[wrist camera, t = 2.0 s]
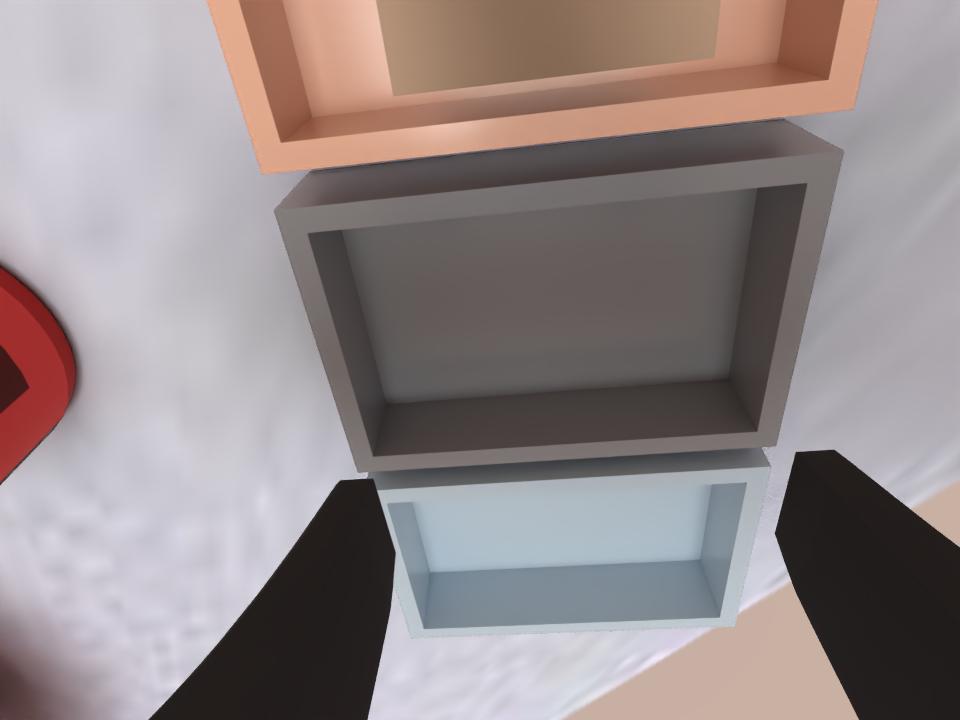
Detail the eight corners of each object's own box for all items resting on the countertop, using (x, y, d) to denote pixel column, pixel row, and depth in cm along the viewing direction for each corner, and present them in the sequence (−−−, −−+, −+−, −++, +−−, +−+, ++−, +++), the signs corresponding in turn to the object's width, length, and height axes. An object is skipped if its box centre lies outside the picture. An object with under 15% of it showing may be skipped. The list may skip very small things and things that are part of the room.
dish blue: (736, 402, 19) (771, 466, 17) (710, 558, 24) (734, 626, 21) (380, 427, 20) (364, 491, 18) (419, 572, 25) (411, 638, 22)
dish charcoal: (784, 119, 14) (843, 150, 12) (739, 383, 19) (776, 446, 16) (309, 171, 15) (273, 210, 13) (375, 410, 20) (357, 472, 18)
